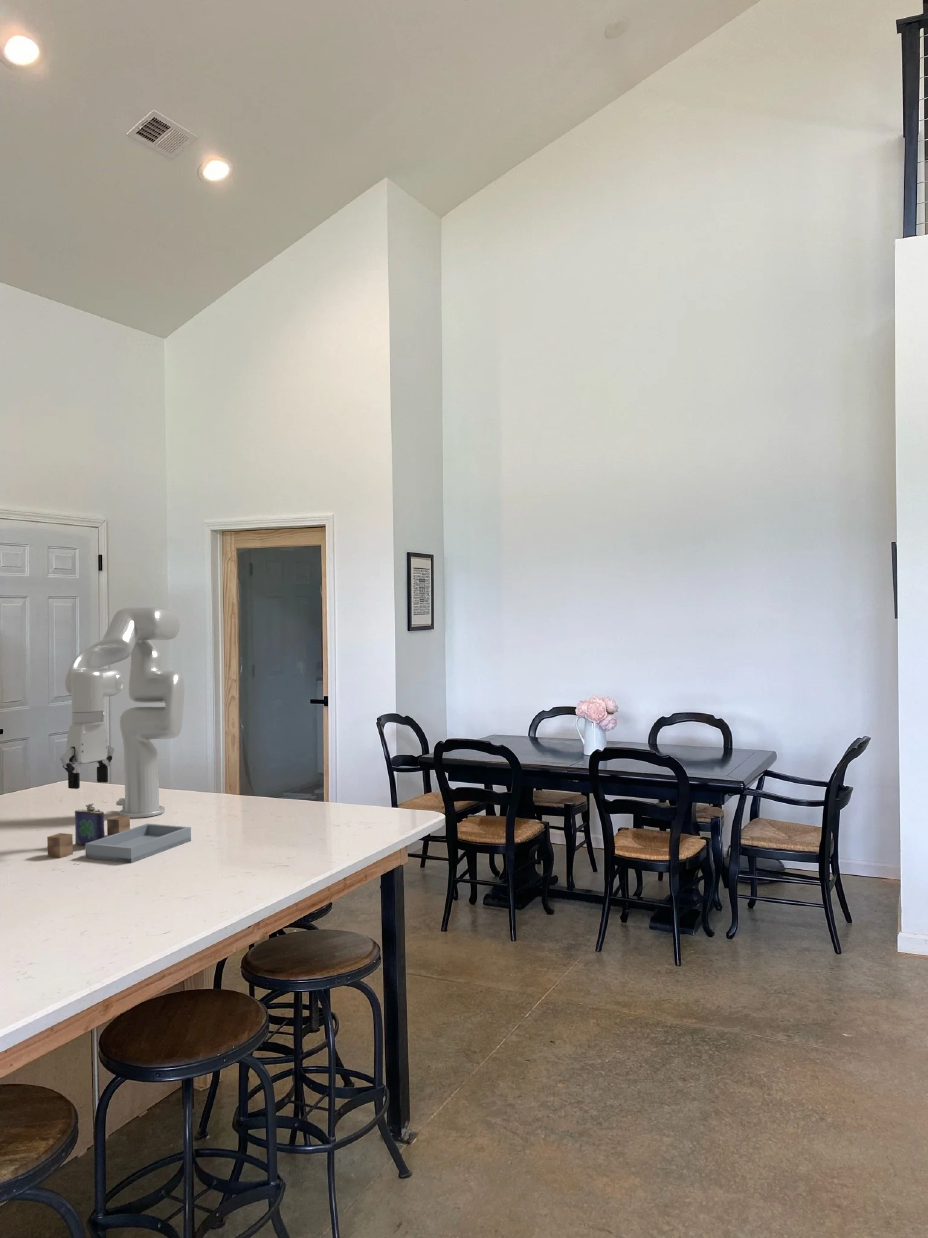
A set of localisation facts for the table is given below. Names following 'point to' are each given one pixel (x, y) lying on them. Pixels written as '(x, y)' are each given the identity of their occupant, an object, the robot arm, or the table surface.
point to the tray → (137, 843)
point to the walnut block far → (117, 824)
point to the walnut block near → (60, 845)
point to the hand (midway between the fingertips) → (88, 785)
